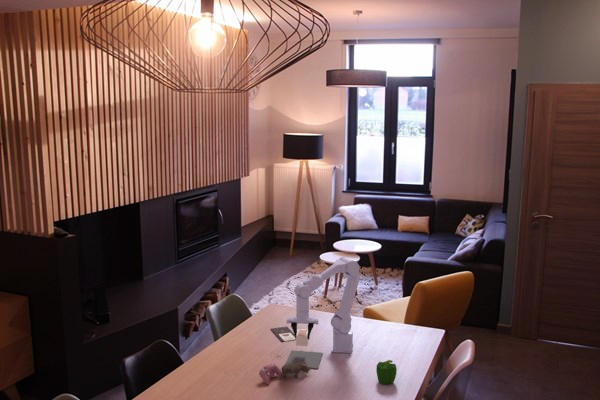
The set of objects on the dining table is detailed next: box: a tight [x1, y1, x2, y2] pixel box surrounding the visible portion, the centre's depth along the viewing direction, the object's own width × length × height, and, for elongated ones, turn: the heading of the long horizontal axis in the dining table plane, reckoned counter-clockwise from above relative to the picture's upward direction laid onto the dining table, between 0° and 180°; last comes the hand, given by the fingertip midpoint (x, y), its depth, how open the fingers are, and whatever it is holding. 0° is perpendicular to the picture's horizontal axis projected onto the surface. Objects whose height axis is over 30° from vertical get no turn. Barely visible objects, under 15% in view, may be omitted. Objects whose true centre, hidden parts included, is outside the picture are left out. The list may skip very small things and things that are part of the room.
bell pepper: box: [375, 359, 398, 386], centre depth 234 cm, size 8×8×10 cm
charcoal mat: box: [284, 350, 324, 370], centre depth 256 cm, size 15×17×1 cm
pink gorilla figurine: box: [258, 363, 283, 385], centre depth 237 cm, size 10×5×7 cm, turn 142°
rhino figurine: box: [280, 363, 312, 381], centre depth 239 cm, size 4×14×6 cm, turn 110°
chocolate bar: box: [270, 326, 296, 343], centre depth 287 cm, size 9×1×18 cm
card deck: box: [295, 328, 309, 347], centre depth 259 cm, size 8×5×5 cm, turn 175°
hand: (302, 338), depth 259 cm, fingers closed on card deck, 5 cm apart
